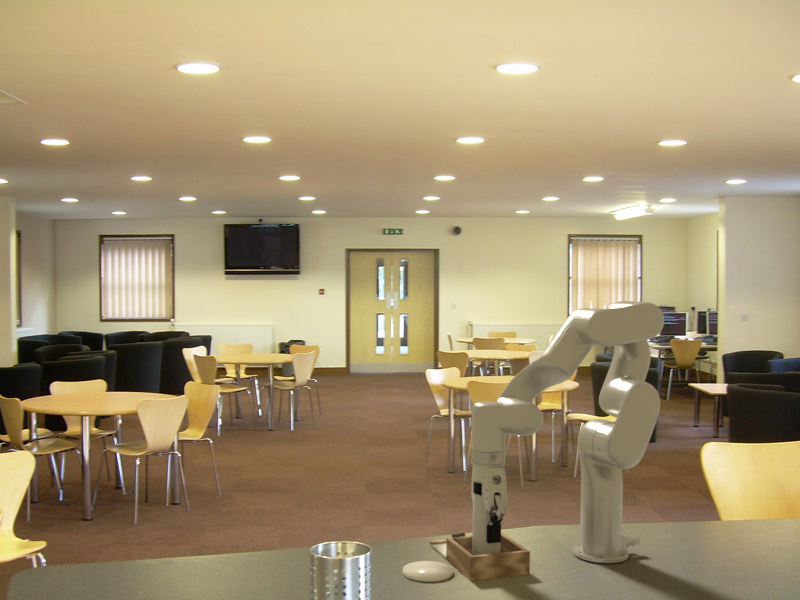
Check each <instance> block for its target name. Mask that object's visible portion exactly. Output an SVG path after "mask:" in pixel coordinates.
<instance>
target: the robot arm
mask: <svg viewBox="0 0 800 600" xmlns="http://www.w3.org/2000/svg"><path fill="white" fill-rule="evenodd" d="M664 326H665V316H664V313H663V311H662V310H661V308H660V307H659V306H657V305H656V304H654V303H652V302H648V301H631V300H623V301H622V300H620V301H615V302H612V303H611V304H609V305H608V306H607V308H586V307H585V308H583V307H582V308H578V309H575V310H574V311H572V312H571V313H570V315H569V316H568V317H566V319H565V320H564V322H563V324H561V326H560V328H558V330H557V332H556V334H554V336H553V337H552V339H551V340H550V342H549V343H548V344H547V345H546V347H545V348H544V350H543V351H542V352H541V354H540V355H539V356H538V357H537V358H536V359H534V360H533V361H532V362H530V363H528V365H526V366H525V367H524V368H523V369H521V371H519V372H518V373H517V374H516V375H515V376H514V377H513V378H512V379H511V380H510V381H509V382H508V384H507V385H506V386H505V388H504V389H503V391H502V392H501V393H500V394H499V396H498V397H497V399H496V401H489V400H487V401H485V400H482V401H478V402H475V403H474V404H473V405H472V408H471V452H470V453H471V455H470V456H471V457H470V459H471V461H470V464H471V465H472V469H471V471H472V472H471V482H470V483H471V484H470V495H471V498H470V499H471V501H472V503H473V489H474V488H473V482H476V483H481V484H482V499H483V507H484V510H485V511H486V512H487V517H488V524H489V525H487V543H499V542H501V533H502V525H503V519H504V516H505V515H506V511H507V510H508V489H507V488H508V486H507V485H508V483H507V474H506V468H505V466H506V435H512V436H520V437H521V436H532V435H535V434H536V433H537V432H539V431H540V430H541V429H542V426H543V424H544V415H543V413H542V410H541V409H540V407H538V406H537V405H535V404H534V403H532V402H533V401H534V399H535V398H536V397H538V396H539V395H540V394H541V393H542V392H544V391H546V390H547V389H549V388H551V387H554V386H557V385H559V384H562V383H564V382H566V381H568V380H569V379H571V378H572V377H573V376H574V374H575V372H576V371H577V370H578V368H579V367H580V365H581V364H582V363H583V361H584V360H585V358H587V356H588V354H590V352H591V350H592V349H593V347H598V348H609V347H613V350H614V351H613V356H612V360H611V362H610V366H609V367H608V371H607V374H606V376H605V379H604V382H603V384H602V386H601V389H600V393H599V397H598V405H599V407H600V408H601V410H602V411H603V412H604V413H605V414H607V415H609V416H610V417H614V418H616V420H615V422H614V421H610V420H607V419H602V418H597V419H592V420H589V421H587V422H586V423H584V424H583V425H582V427H581V428H580V430H579V432H578V436H577V451H578V456H579V464H580V523H579V524H580V528H579V529H580V530H579V533H580V534H579V536H580V537H579V543H578V544H575V545H574V546H573V547H572V548H573V550H572V552H573V555H574V556H575V557H577V558H578V559H581V560H585V561H587V562H591V563H598V564H599V563H600V564H617V563H621V562H625V561H626V560H628V559H629V554H630V553H629V551H628V550H627V549H628V548H629V546H632V547H635V546H637V547H638V546H640V544H641V539H640V537H639V536H633V537H632V536H631V537H629V535H623V494H624V493H623V491H624V481H623V480H624V479H623V478H624V477H623V472H622V470H627V469H632V468H633V467H635V466H637V465H638V464H639V463H640V462H641V460H642V459H643V456H644V455H645V453H646V450H647V448H648V445H649V443H650V440H651V438H652V435H653V431H654V429H655V427H656V425H657V421H658V418H659V415H660V411H661V397H660V394H659V392H658V390H657V389H656V388H655V387H654V386H653V385H652V384H650V383H649V382H647V381H646V378H647V375H648V372H649V368H650V365H651V357H652V355H651V354H652V353H651V348H650V345H649V342H648V340H652V339H654V338H655V337H656V338H657V336H658V335H659V334H660V333H661V332H662V330H663V329H664ZM491 507H496V510H491ZM492 513H496V515H494V516H493V518H492Z"/></svg>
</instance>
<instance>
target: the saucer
mask: <svg viewBox="0 0 800 600" xmlns="http://www.w3.org/2000/svg"><path fill="white" fill-rule="evenodd" d="M402 574H403V576H404V577H405V578H407V579H409V580H412V581H414V582H415V581H416V582H423V583H436V582H443V581H447V580H449V579H451V578H452V577H453V576H454V568H453V567H452V565H449V564H446V563H444V562H441V561H440V562H439V561H433V560H419V561H414V562H409V563H407V564H405V565H404V566H403V567H402Z"/></svg>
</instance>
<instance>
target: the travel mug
mask: <svg viewBox="0 0 800 600" xmlns="http://www.w3.org/2000/svg"><path fill="white" fill-rule="evenodd" d="M473 488H474V489H473V502H472V534H471V536H472V555H483V554H493V553H500V545H501V542H499V543H487V525H489V524H488V517H487V512H486V511H485V510H484V507H483V499H482V484H481V483H476V482H473ZM491 510H496V507H491ZM494 515H496V513H492V518H493V516H494Z"/></svg>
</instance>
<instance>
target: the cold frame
mask: <svg viewBox="0 0 800 600" xmlns="http://www.w3.org/2000/svg"><path fill="white" fill-rule="evenodd" d="M429 545H430V547H431V548H432V549H433V550H434V551H436V553H437V554H439V555H440V556H441V557H442V556H443V557H442V558H444V560H446V562H448V563H449V564H450V563H451V564H450V565H451V566H453V567H454V568H455V569H456V570H458V572H460V574H462V575H463V576H464V577H465V578H466V579H468V580H469V581H471V582H472V581H473V582H474V581H481V580H488V579H489V580H491V579H500V578H508V577H517V576H525V575H526V576H528V575H530V572H531V569H530V568H531V564H530V563H531V551H530V550H528V549H527V548H526V547H524V546H523V545H521V544H520V543H518V542H517V541H515V540H514V539H512V538H511V537H509V536H508V535H506V534H504V532H501V545H500V553H493V554H483V555H472V535H466V532H457V533H455V532H454V533H451V537H446V539H436V540H429Z"/></svg>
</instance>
